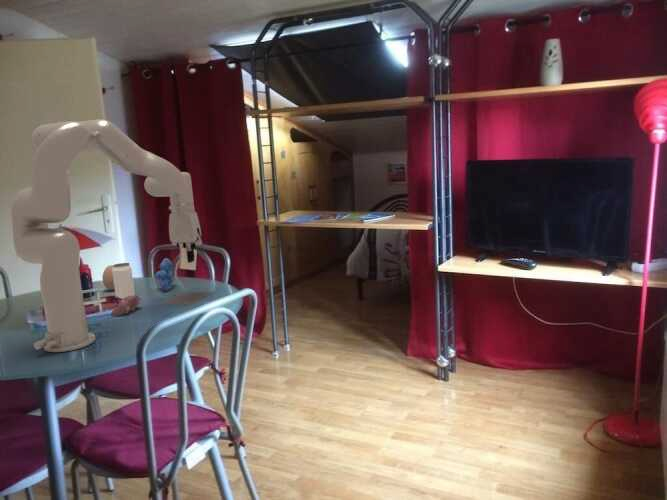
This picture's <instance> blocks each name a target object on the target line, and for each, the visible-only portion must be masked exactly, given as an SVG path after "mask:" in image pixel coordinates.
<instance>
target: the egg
mask: <svg viewBox="0 0 667 500" xmlns="http://www.w3.org/2000/svg"><path fill="white" fill-rule="evenodd" d="M113 265H114V264H113ZM113 265H108V266H107V267H105V268H104V270H103V273H102V284H103V285H104V286H105V288H106V289H107V290H110V291H115V288H114V281H113V273H112V269H113Z"/></svg>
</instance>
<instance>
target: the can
mask: <svg viewBox="0 0 667 500" xmlns="http://www.w3.org/2000/svg"><path fill="white" fill-rule="evenodd" d="M112 273H113V281H114V288H115V290H114V295H115V297H116V296H117V297H119V298H121V299H120V300H124V298H125V297H127V296H133V295H134V296H136V292H135V286H134V284H135V283H134V277H133V269H132V267H131V265H130V263H129V262H121V263H115V264H113V269H112Z"/></svg>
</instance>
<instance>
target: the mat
mask: <svg viewBox="0 0 667 500" xmlns="http://www.w3.org/2000/svg"><path fill="white" fill-rule="evenodd" d="M214 293H215V291H199V290H196V291H193V290H191V291H190V290H185V291H183V292H181V293H178V294H177V295H174V296H172V297H170V298H168V299H166V300H164V301H162V302H159V303H158V304H159V305H171V306H172V305H173V306H174V305H175V306H176V305H178V306H191V305H193V304H195V303H196V302H199V301H200V300H203V299H204V298H206V297H208V296H211V295H212V294H214Z"/></svg>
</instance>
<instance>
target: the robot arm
mask: <svg viewBox="0 0 667 500" xmlns="http://www.w3.org/2000/svg"><path fill="white" fill-rule="evenodd" d="M31 140H32V141H31V142H32V144H33V145H32V146H33V147H34V149H36V151H35V154H34V155H33V159H32V165H31V187H26V188H23V189H21V190H19V191H18V192H17V193H16V194H15V195H14V198H13V200H12V203H11V210H10V212H11V224H12V227H11V228H12V238H13V239H12V240H13V247H14V250H15V253H16V255H17V256H18V258H19V259H21V260H22V261H24V262H26V263H30V264H38V265H40V264H41V270H40V274H39V275H40V276H39V286H40V292H41V297H42V299H41V300H42V303H43V309H44V316H45V322H46V328H47V332H46V333H44V338H42V339H41V340H38V341H36V342H34V343H33V348H34V349H35V350H41V349H43V350H44V351H46V352H49V353H61V352H62V353H64V352H69V351H74V350H78V349H81V348H85V347H87V346H89V345H91V344H93V343H94V342H95V341H96V335H95V334H94V333H92V332H89V329H88V328H89V327H88V322H87V314H86V309H85V303H84V301H85V300H84V294H83V290H82V289H83V288H82V281H81V274H80V254H81V253H80V252H81V249H80V247H81V246H80V243H79V240H78V239H77V237H76V236H75V234H73V233H72V232H71V231H68V230H66V229H62V228H50V227H49V224H59V223H63V222H64V221H66V220H67V219H68V218H69V217H70V215H71V213H72V212H71V211H72V210H71V209H72V203H71V201H72V200H71V187H70V169H71V165H72V163H73V161H74V159H75V158H76V157H77V156H78V155H79V154H80V153H82V152H87V151H88V152H91V151H98V152H100V153H101V154H102V155H104V156H105V157H107V159H109V160H110V161H111V162H113V163H114V164H115V165H116V166H118V167H119V168H120V169H121V170H123V171H125V172H128V173H131V174H135V175H138V176H139V175H140V176H145V177H146V178H145V181H144V184H143V186H144V190H145V191H146V192H147V194H148V195H150V196H152V197H156V198H158V197H162V198H163V197H164V198H165V197H169V202H170V205H169V206H168V210H169V211H171V213H170V214H169V218H168V233H169V240H170V242H171V245H173V246H177V248H178V249H179V250H180V248H187V249H188V251H187V257H188V263H190V262H193V261H194V250H196V248H197V247H198V246H200V245H202V244H203V242H202V231H201V225H200V220H199V216H198V213H197V212H196V211H195V210H196V209H195V205H194V204H195V203H194V194H193V186H192V177H191V174H190V173H189V172H186V171H181V170H180V169H178V167H176V166H175V165H174V164H173V163H171V162H170V161H168V160H166V159H164V158H163V157H160V156H159V155H156V154H155V153H152V152H150V151H147V150H145V149H144V148H142V147H140V146H139V145H138V144H137V143H136V142H134V140H132V139H131V138H130V137H129V136H128V135H127V134H125V132H123V131H122V130H121V129H120V128H119V127H117V125H115V124H114V123H113V122H112V121H109V120H107V119H99V118H98V119H92V120H91V119H90V120H83V121H73V120H71V121H60V122H52V123H46V124H42V125H40V126H38V127H35V129H34V130H33V132H32V135H31Z"/></svg>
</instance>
